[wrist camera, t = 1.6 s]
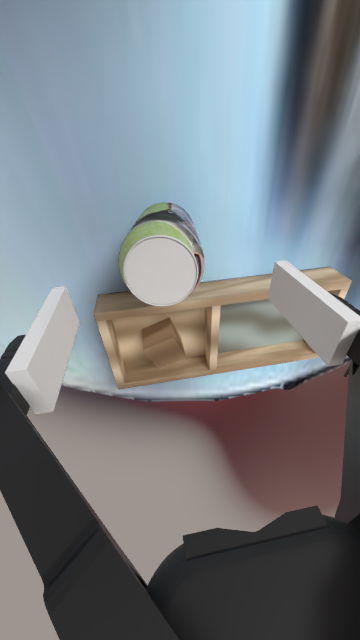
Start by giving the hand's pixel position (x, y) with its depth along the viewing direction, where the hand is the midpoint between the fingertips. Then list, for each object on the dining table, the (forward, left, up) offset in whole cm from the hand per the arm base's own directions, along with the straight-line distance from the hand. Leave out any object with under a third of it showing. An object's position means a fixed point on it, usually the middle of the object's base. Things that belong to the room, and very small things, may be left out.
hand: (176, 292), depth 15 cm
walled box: (+13, +7, -13) cm, 20 cm away
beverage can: (0, 0, -13) cm, 13 cm away
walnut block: (+13, -1, -12) cm, 18 cm away
